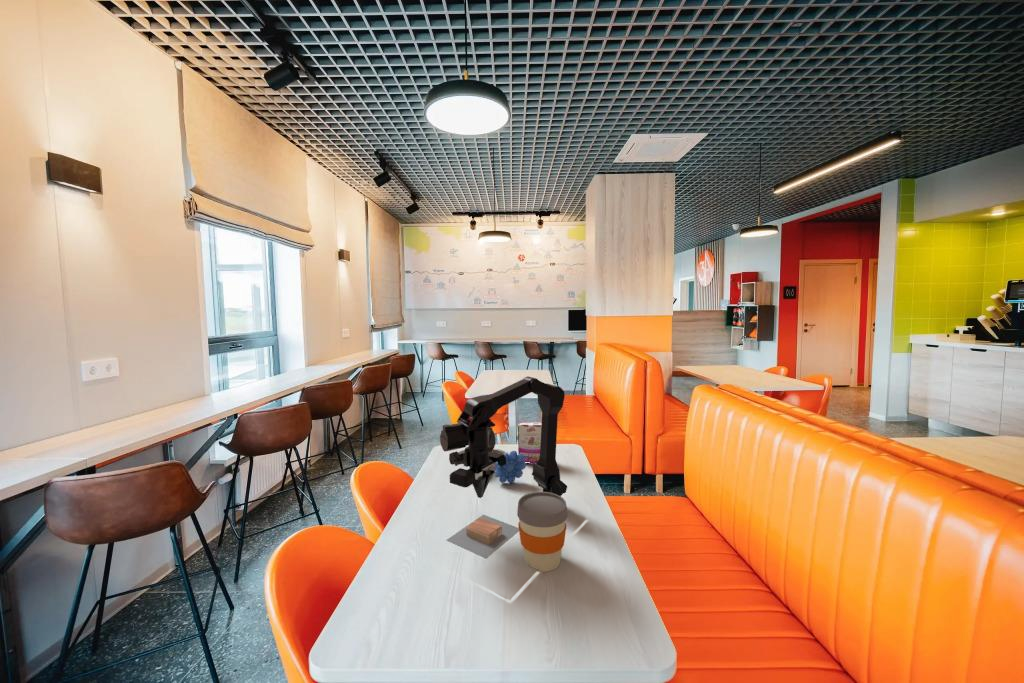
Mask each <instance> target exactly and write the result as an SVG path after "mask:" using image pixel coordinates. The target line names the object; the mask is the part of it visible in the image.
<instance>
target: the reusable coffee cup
mask: <svg viewBox="0 0 1024 683" xmlns="http://www.w3.org/2000/svg"><path fill="white" fill-rule="evenodd" d="M516 511H517V513H516V516H517V517H518V520H519V521H518V526H517V527H518V528H519V531H518V533H519V540H520V544H521V546H522V550H523V556H524V561H525V563H526V564H527V565H528V566H529V567H531V568H533V569H536V571H537V572H551V571H553V570H555V569H557V568H558V567H559V566H560V563H561V557H562V550H563V547H564V546H565V538H566V531H567V523H566V521H567V519H568V508H567V502H566V500H565V499H564V497H562V495H561V496H559V495H557V494H554V493H549V492H543V491H533V492H528V493H526V494H524V495H523V496H521V497H520V498H519V499H518V502H517V510H516Z"/></svg>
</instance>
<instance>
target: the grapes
mask: <svg viewBox="0 0 1024 683" xmlns="http://www.w3.org/2000/svg"><path fill="white" fill-rule="evenodd" d="M503 454H504V456H505V457H506V464H505V465H503V466H502V467H500V466H499V465H498V462H495V464H494V467H495V468H496V469H495V470H494V471H495V473H494V474H493V476H495V477H496V478H498V481H499V482H500V484H501V483H503V484H504V483H506V482H507V483H509V484H512V483H514V482H515V481H516V478H517V479H520V478H521V477H522V476H523V474H524V472H523V470H525V469H526V467H527V464H526V463H525V462H524V461H523V459H524V456H523V455H522V454H518V451H516V450H511V451H510V452H509V454H508V453H506V452H505V453H503Z"/></svg>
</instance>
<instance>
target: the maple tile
mask: <svg viewBox="0 0 1024 683" xmlns="http://www.w3.org/2000/svg"><path fill="white" fill-rule="evenodd" d="M478 518H479V517H478ZM478 518H477V519H478ZM475 520H476V519H475ZM475 520H474V521H475ZM472 522H473V521H472ZM472 522H471V523H472ZM468 525H469V524H468ZM465 527H466V526H465ZM466 535H467V536H470V537H472V538H474V539H477V540H479V541H481V542H484V543H486V544H488V545H489V544H490V543H492V542H493V541H494V540H495V539H497V538H498V537H499V536H500V535H502V526H500V525H497V524H495V523H492V522H490V521H487V520H484V519H482V518H479V519H478V520H476V521H475V522H473V523H472V524H471V525H469V526H468V527H466Z"/></svg>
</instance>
